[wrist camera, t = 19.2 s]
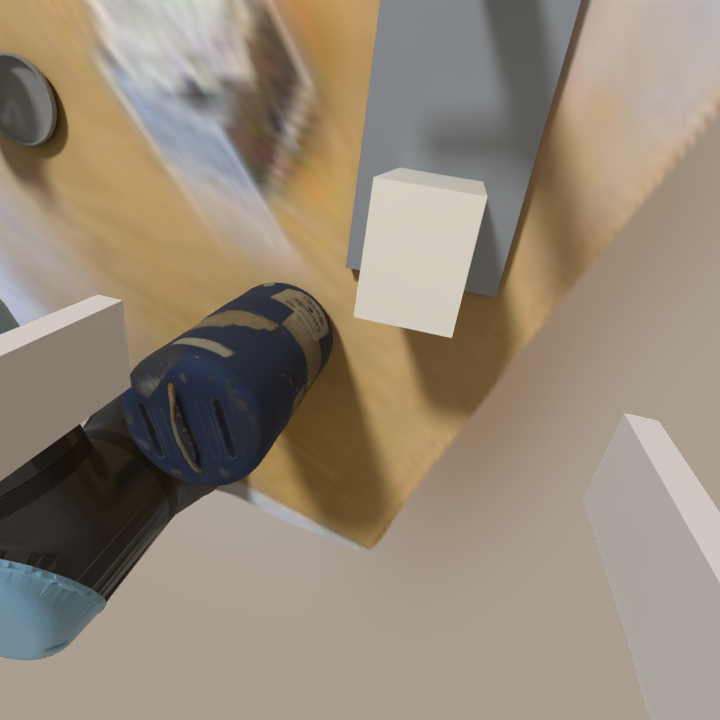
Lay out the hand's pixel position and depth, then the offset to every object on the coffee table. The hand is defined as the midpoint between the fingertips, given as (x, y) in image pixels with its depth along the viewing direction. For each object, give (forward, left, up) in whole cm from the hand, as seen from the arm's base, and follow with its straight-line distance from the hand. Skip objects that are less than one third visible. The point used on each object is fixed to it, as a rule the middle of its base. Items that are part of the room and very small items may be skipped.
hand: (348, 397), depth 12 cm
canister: (-11, +11, -27) cm, 31 cm away
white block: (0, 0, -25) cm, 25 cm away
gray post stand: (+9, 0, -27) cm, 28 cm away
